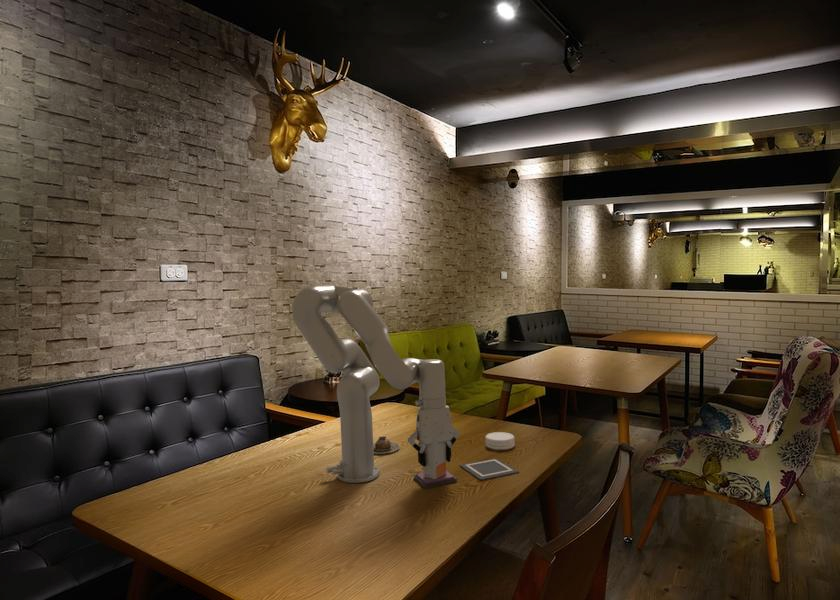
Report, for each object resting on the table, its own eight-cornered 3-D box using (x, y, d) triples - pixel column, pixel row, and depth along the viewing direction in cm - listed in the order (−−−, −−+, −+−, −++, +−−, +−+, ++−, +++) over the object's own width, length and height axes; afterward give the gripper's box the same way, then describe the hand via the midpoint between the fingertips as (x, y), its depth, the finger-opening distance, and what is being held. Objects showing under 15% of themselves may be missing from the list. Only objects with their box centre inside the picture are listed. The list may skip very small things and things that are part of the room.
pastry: (399, 456, 178) (398, 442, 178) (363, 457, 178) (362, 443, 178) (400, 444, 190) (400, 431, 190) (367, 445, 190) (366, 432, 190)
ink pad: (424, 488, 149) (424, 483, 149) (414, 478, 157) (413, 473, 157) (456, 481, 153) (456, 476, 153) (444, 472, 161) (444, 467, 161)
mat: (480, 480, 154) (480, 478, 154) (460, 466, 166) (459, 464, 166) (518, 472, 159) (518, 470, 159) (496, 459, 171) (496, 457, 171)
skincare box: (435, 480, 151) (434, 438, 151) (423, 477, 154) (422, 436, 153) (447, 473, 156) (446, 433, 156) (435, 470, 159) (434, 430, 158)
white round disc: (513, 441, 189) (513, 431, 189) (515, 450, 179) (515, 440, 179) (485, 441, 190) (485, 431, 190) (485, 450, 180) (485, 440, 180)
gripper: (409, 409, 147) (412, 472, 148) (465, 401, 154) (467, 461, 155) (400, 403, 154) (402, 463, 155) (453, 396, 161) (455, 454, 162)
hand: (435, 462), depth 155 cm, fingers closed on skincare box, 7 cm apart
